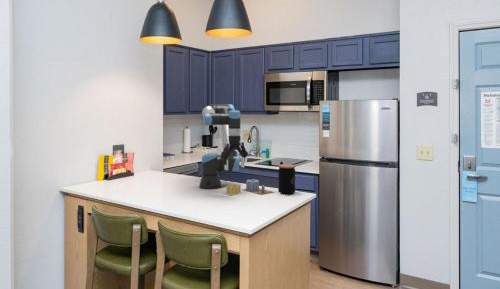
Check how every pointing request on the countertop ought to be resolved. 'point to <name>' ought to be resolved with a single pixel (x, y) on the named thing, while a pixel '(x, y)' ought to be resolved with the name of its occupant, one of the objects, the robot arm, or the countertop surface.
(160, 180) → the countertop surface
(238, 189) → the gear
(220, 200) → the countertop surface
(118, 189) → the countertop surface
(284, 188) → the coffee jar
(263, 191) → the gear board
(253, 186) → the gear
